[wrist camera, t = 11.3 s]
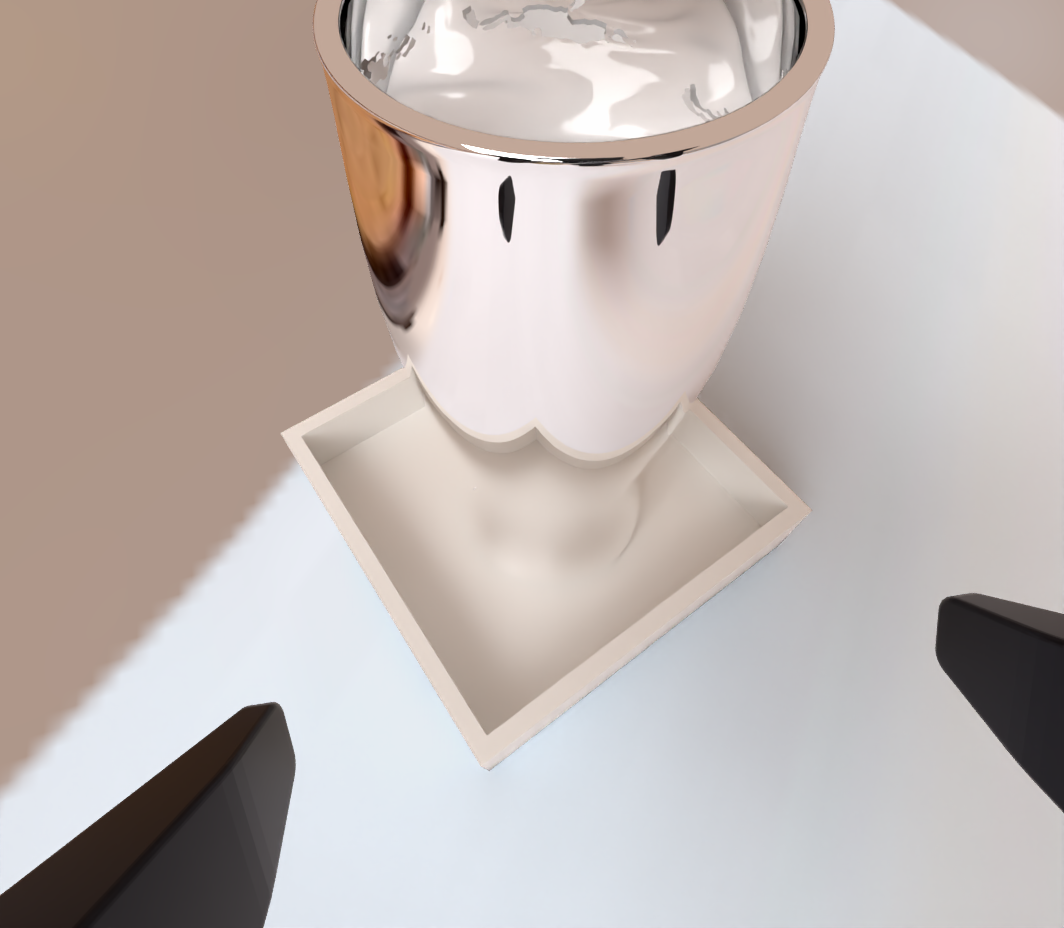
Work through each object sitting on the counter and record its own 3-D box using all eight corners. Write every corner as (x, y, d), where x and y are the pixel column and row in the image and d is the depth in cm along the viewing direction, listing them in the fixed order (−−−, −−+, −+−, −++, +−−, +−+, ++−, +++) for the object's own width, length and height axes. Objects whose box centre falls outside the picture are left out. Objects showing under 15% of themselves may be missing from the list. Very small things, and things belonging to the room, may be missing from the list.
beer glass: (552, 383, 23) (573, -157, 10) (694, 504, 21) (966, -3, 8) (407, 495, 21) (188, -11, 8) (546, 646, 18) (567, 277, 5)
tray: (777, 545, 21) (812, 510, 18) (488, 770, 18) (481, 766, 15) (568, 329, 26) (572, 276, 23) (310, 475, 23) (280, 432, 20)
